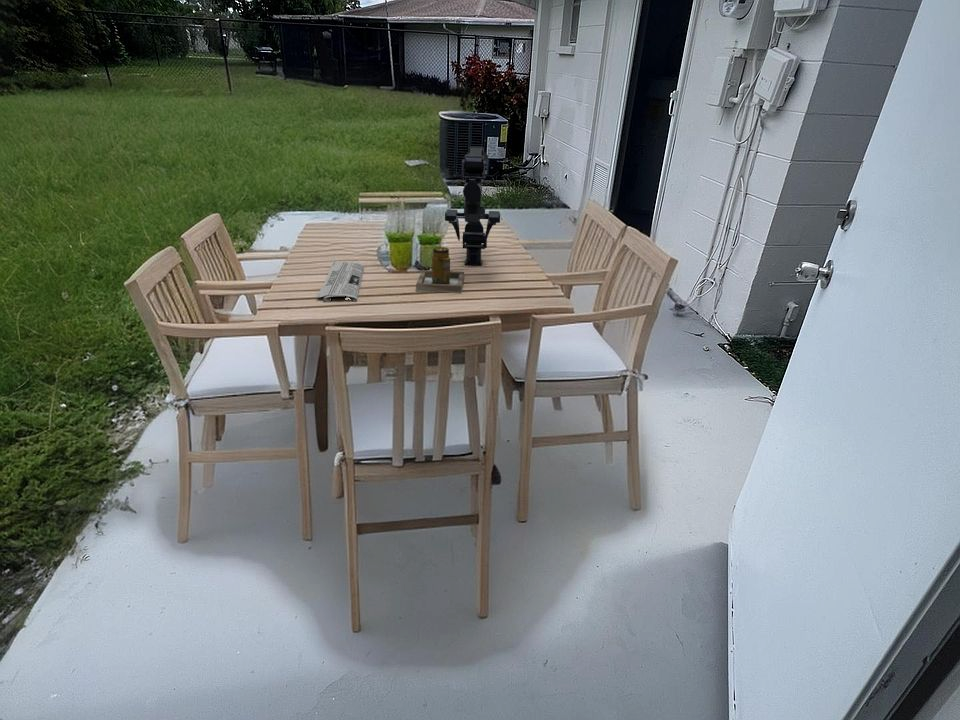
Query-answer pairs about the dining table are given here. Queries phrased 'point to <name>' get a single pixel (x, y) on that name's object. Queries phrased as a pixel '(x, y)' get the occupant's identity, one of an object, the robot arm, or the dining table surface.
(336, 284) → the newspaper
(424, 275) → the holder tray
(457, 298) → the dining table surface
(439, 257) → the condiment
